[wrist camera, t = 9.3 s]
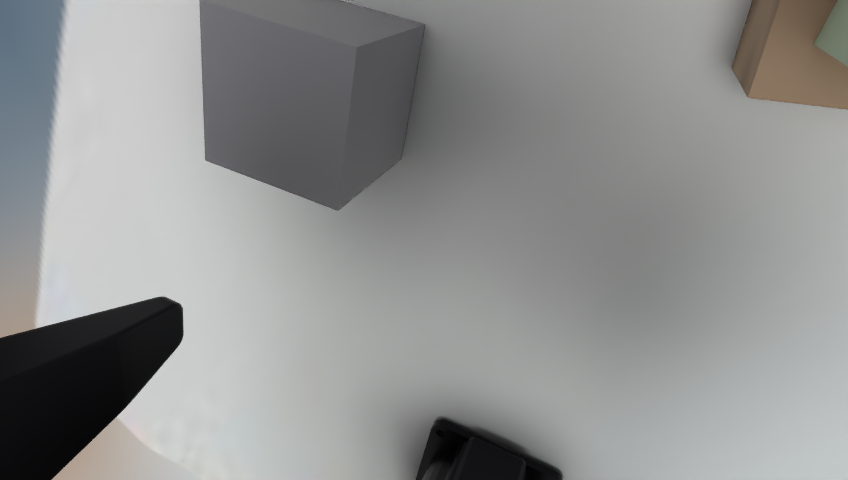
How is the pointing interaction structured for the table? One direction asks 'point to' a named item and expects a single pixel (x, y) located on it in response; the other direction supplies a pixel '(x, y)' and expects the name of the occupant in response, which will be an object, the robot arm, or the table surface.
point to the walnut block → (789, 55)
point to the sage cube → (835, 33)
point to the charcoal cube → (307, 92)
